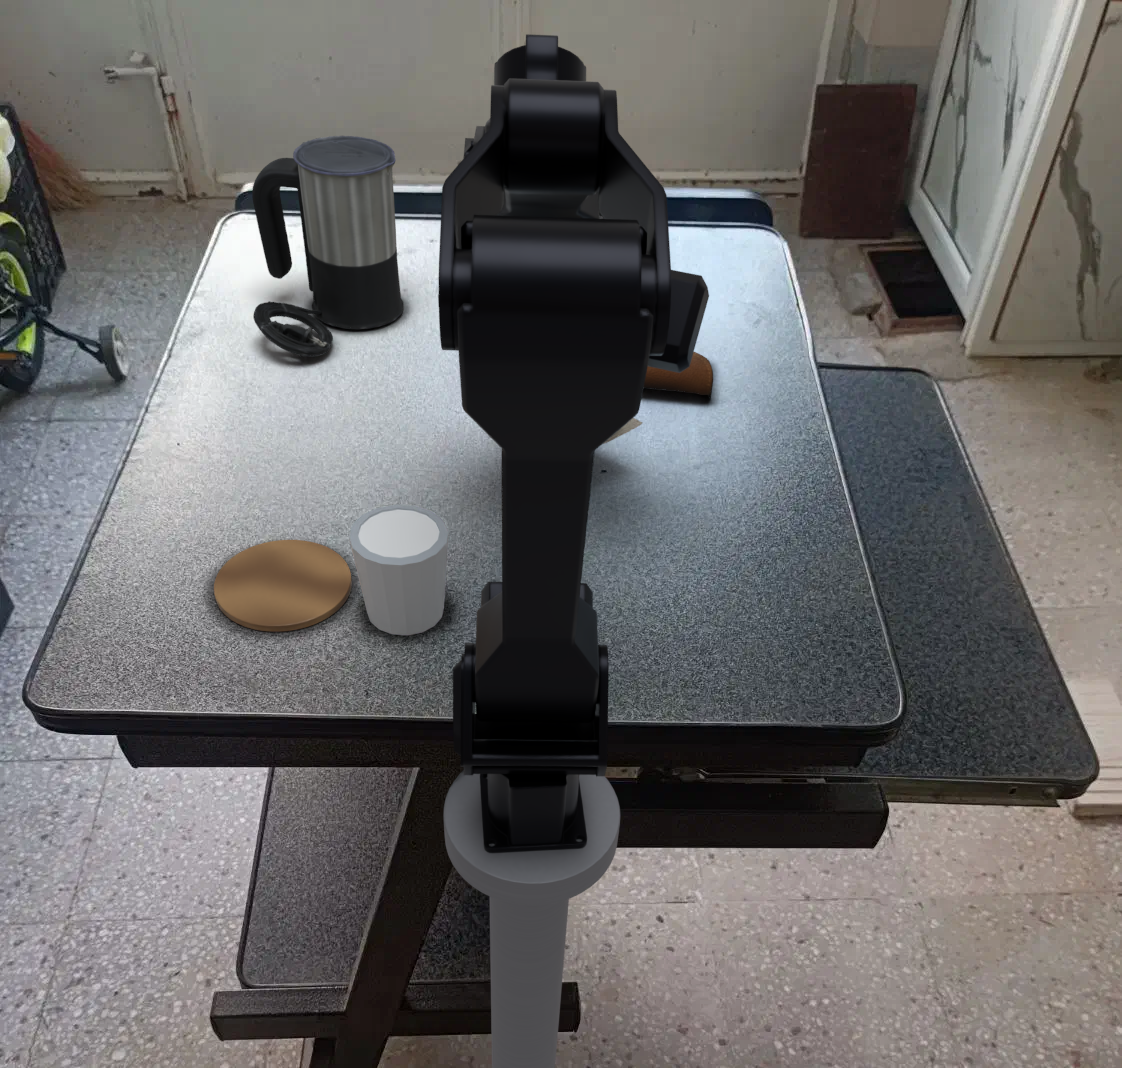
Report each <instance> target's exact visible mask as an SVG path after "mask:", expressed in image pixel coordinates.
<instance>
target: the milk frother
mask: <svg viewBox="0 0 1122 1068" xmlns="http://www.w3.org/2000/svg"><path fill="white" fill-rule="evenodd" d="M395 163H396V155H395V151H394V150H393V148H392V147H390V146H389V145H388V144H387V143H385V142H382V141H379V140H377V139H373V138H367V137H363V136H357V135H356V136H355V135H329V136H324V137H323V136H322V137H317V138H316V137H315V138H313V139H310V140H307V141H304V142H302V143H301V144H300V145H299V146H297V147H296V148H295V149H294V151H293V153H292V157H280V158H277V159H275V160H272V161H270V162H269V163H268V164H266V165H265V166H264V167H263V168H262V169H261V170H260V172H259V173H258V174H257V176H256V177H255V180H254V182H253V185H252V192H251V197H252V204H253V208H254V212H255V216H256V223H257V227H258V232H259V236H260V241H261V245H262V249H263V250H262V251H263V254H264V258H265V263H266V267H267V271H268V273H269V275H270V276H272V277H273V278H274V279H278V280H280V279H283V278H284V277H285V276H286V275H288V274H289V272H290V271H291V269H292V267H293V259H292V253H291V247H290V241H289V236H288V231H287V228H286V227H287V225H286V221H285V216H284V209H283V203H282V198H281V188H291V189H297V197H298V198H297V199H298V205H299V215H300V223H301V230H302V231H301V232H302V239H303V246H304V254H305V263H306V274H307V280H308V281H307V282H308V288H309V291H311V292H312V299H313V301H312V303H311V309H310V308H305V307H301V306H298V305H294V304H291V303H286V302H276V301H269V300H268V301H266V302H262V303H260V304H258V305H257V306H256V307H255V309H254V311H253V321H254V323H255V325H256V326H257V328H258V329H259V331H260V332H261V333H262V335H263V336H265V337H266V339H268V340H269V341H270V342H271V343H273V344H274V346H277V347H279V348H280V349H282V350H284V351H286V352H288V353H291V354H294V355H297V356H299V357H300V358H303V357H310V358H311V357H313V358H314V357H319V356H323V355H325V354H326V353H328V352H329V351H330V350H331V347H332V343H333V341H334V336H333V333H332V332H331V330H330V329H328V327H327V326H326V325H328V326H331V327H337V328H340V329H346V330H368V329H373V328H379V327H383V326H385V325H388V324H390V323H392V322H394V321H395V320H397V319H398V318H399V317H400V316H401V315H402V314H403V312H404V307H405V306H404V305H405V304H404V301H403V299H402V294H401V284H400V274H399V273H400V272H399V264H398V248H397V228H396V227H397V226H396V210H395V208H396V207H395V195H394V176H393V175H394V174H393V167H394V165H395ZM312 315H314V316H312ZM276 317H283V318H290V319H293V320H296V321H298V322H300V323H302V324H304V325H306V326H307V327H308V328H305V327H303V326H300V325H296V324H291V323H285V324H284V323H281V322H278V321H277V320H274V321H272V320H271V318H276ZM325 324H326V325H325ZM313 331H314V332H315V333H316V335H317V336H318V337H319V338H317V337H315V336H314V335H313Z"/></svg>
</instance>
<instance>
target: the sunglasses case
mask: <svg viewBox="0 0 1122 1068" xmlns="http://www.w3.org/2000/svg"><path fill="white" fill-rule="evenodd" d="M713 386H714V371H713V367H712V364H711V361H710V360H709V359H708V358H707V357H706V356H704V355H702V354H700V353H698V352H696V351H694V352H693V356H692V359H691V363H690V367H688V368H687V369H685V370H684V371H682V372H680V373H677V372H673V371H668V370H663V369H659V368H654V367H649V366H648V367H647V372H646V377H645V383H644V388H643V389H648V390H657V391H658V390H659V391H669V392H678V393H688V394H696V395H700V396H707V397H708V398H709V399H710V400H711V399H712V393H713Z"/></svg>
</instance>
